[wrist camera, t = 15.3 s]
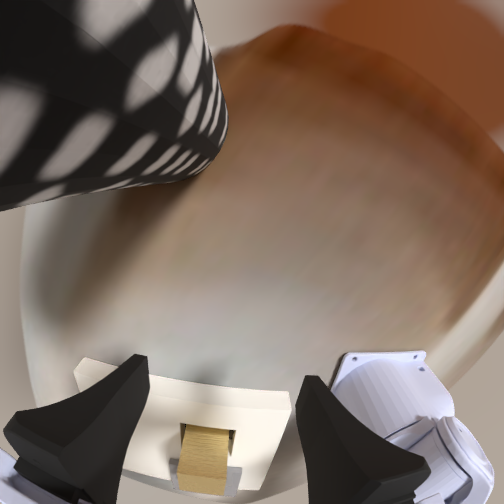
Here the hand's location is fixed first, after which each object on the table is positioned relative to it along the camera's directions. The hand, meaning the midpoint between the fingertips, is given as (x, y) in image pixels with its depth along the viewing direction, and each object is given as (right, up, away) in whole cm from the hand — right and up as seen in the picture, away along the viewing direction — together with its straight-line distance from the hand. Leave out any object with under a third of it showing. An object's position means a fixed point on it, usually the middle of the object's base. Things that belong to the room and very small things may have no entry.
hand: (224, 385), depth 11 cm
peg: (-3, -12, +13) cm, 18 cm away
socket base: (-7, -14, +14) cm, 21 cm away
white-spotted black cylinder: (-4, +15, +6) cm, 16 cm away
